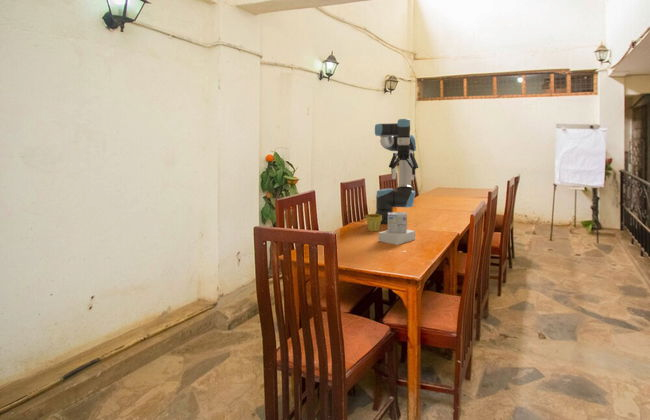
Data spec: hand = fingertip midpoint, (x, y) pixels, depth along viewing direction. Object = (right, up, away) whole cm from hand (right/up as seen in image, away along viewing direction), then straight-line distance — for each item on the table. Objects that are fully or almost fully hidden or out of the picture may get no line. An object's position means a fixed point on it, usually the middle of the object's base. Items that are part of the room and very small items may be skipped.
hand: (402, 179), depth 249 cm
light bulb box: (-7, -32, -19) cm, 37 cm away
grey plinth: (-7, -36, -18) cm, 41 cm away
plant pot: (-17, -32, +9) cm, 38 cm away
